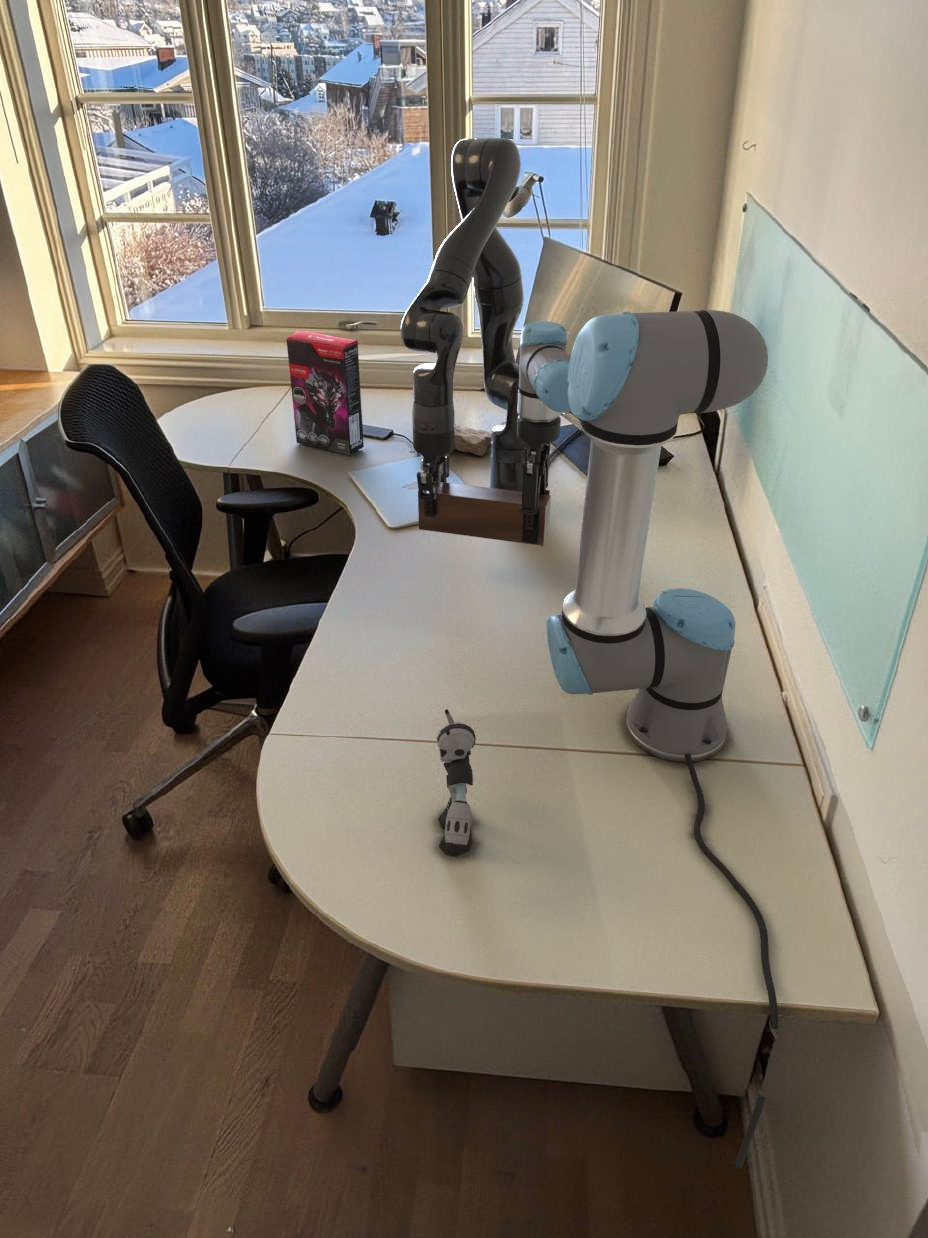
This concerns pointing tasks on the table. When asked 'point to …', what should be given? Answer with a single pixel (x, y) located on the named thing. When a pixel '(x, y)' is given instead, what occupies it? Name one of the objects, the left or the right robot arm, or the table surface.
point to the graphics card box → (326, 391)
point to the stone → (472, 440)
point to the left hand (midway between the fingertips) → (435, 508)
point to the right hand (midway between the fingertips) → (532, 534)
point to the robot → (456, 785)
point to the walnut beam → (482, 513)
